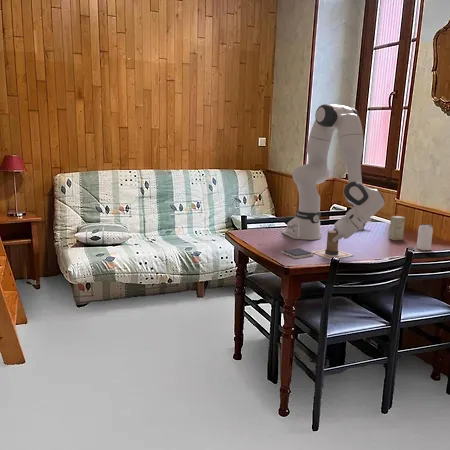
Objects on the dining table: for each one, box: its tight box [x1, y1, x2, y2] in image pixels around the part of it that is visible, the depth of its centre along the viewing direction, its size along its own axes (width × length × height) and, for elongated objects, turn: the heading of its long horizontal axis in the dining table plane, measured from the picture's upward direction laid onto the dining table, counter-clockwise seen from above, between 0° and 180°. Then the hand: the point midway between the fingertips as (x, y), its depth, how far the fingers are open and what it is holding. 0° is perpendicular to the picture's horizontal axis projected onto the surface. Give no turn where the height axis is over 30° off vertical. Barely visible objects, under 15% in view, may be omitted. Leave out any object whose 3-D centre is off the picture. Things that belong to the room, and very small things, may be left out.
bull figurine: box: [357, 217, 372, 232], centre depth 271 cm, size 4×13×8 cm, turn 116°
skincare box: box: [388, 215, 406, 241], centre depth 250 cm, size 6×4×12 cm
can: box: [416, 223, 434, 251], centre depth 232 cm, size 6×6×12 cm
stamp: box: [325, 229, 339, 255], centre depth 219 cm, size 6×6×10 cm
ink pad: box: [281, 247, 314, 259], centre depth 218 cm, size 10×10×2 cm
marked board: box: [310, 248, 354, 261], centre depth 220 cm, size 14×14×1 cm
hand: (331, 238), depth 219 cm, fingers open, 8 cm apart
